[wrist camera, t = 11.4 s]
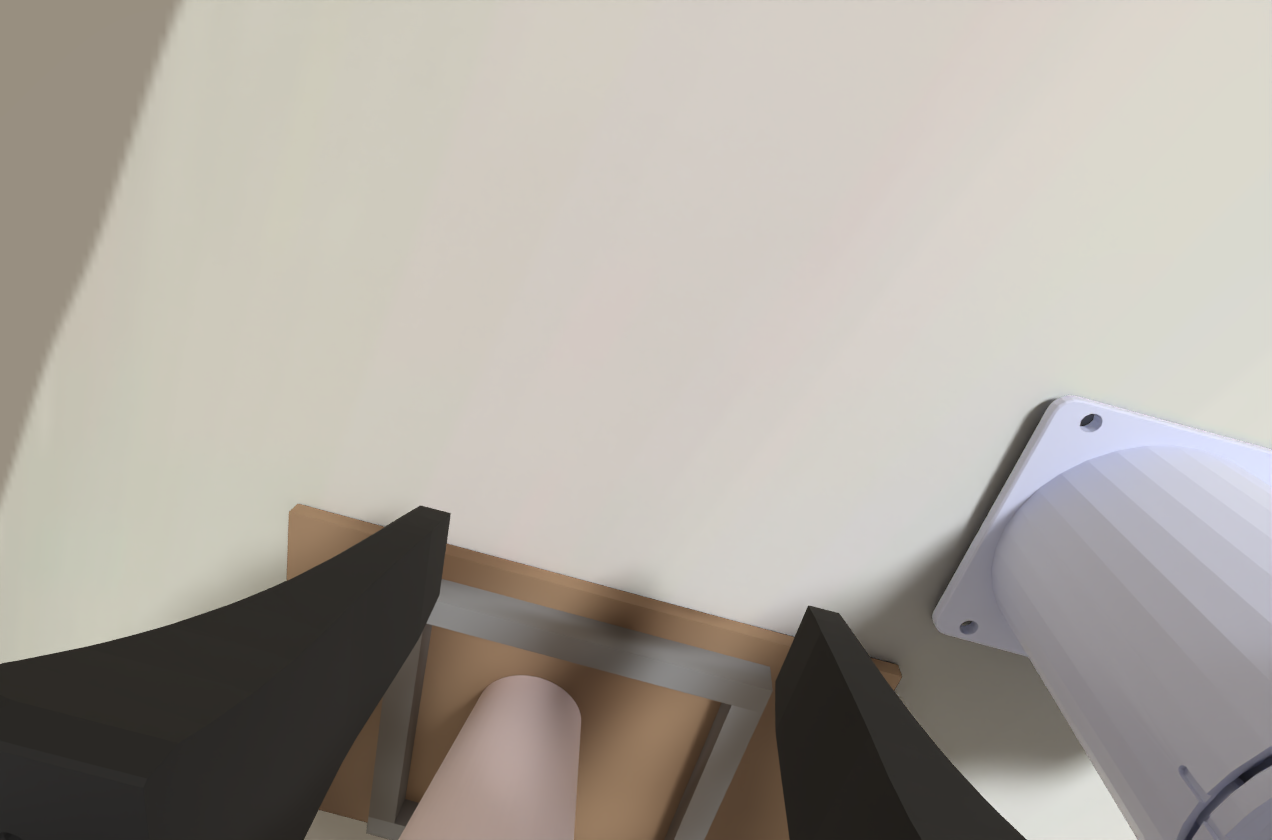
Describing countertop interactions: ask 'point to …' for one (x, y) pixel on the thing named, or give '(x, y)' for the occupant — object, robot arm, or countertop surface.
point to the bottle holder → (575, 697)
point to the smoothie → (507, 769)
